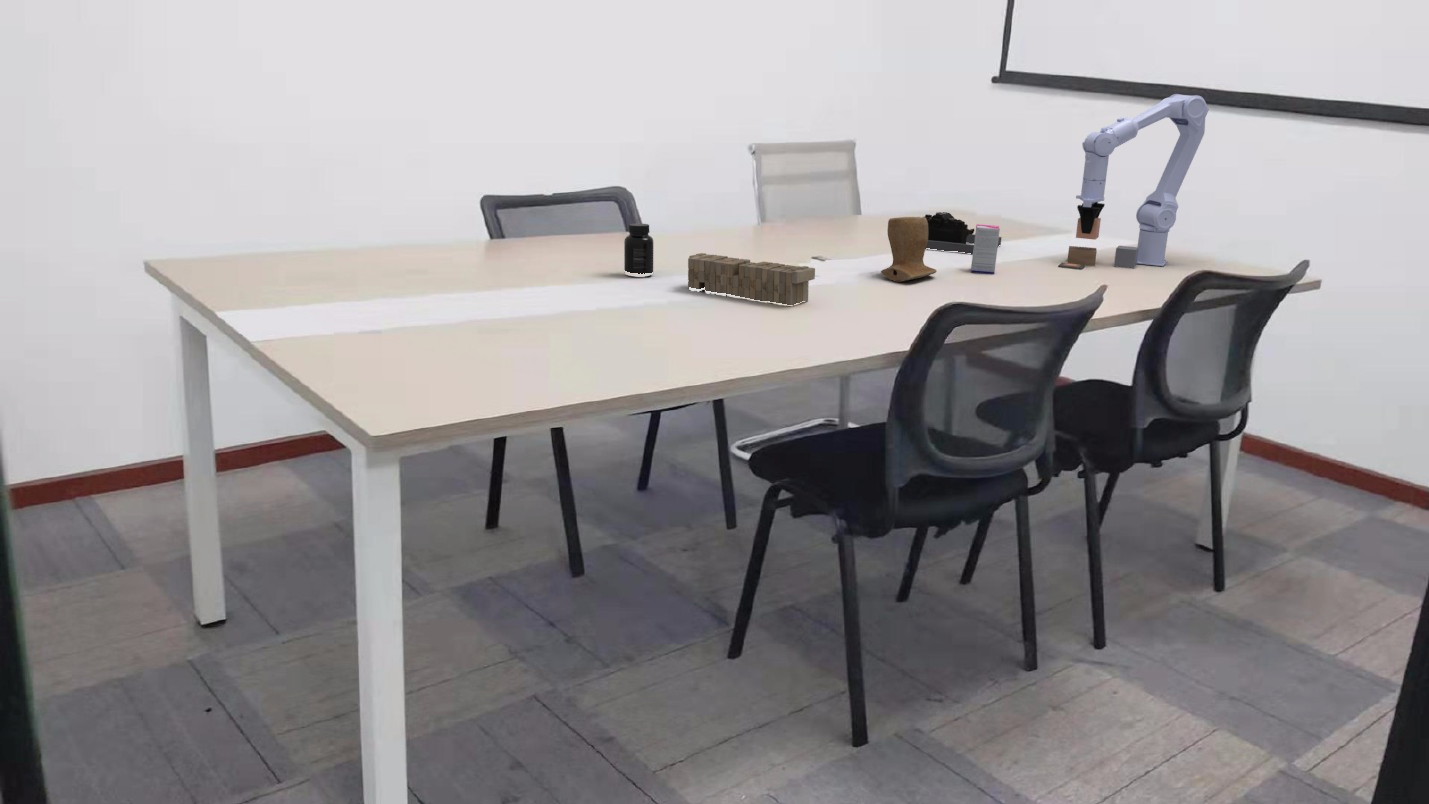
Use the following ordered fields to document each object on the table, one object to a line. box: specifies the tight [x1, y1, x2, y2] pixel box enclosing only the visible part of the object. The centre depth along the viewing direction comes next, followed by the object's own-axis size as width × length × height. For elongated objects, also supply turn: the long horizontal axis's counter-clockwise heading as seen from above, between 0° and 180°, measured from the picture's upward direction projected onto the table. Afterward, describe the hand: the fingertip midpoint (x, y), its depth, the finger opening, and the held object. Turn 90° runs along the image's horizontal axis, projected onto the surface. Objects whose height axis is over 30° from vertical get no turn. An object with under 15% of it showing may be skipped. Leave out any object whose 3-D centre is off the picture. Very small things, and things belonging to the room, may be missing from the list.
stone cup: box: [880, 216, 937, 282], centre depth 281 cm, size 15×12×15 cm
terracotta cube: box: [1075, 217, 1102, 240], centre depth 307 cm, size 5×5×5 cm
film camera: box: [924, 211, 975, 244], centre depth 328 cm, size 18×12×10 cm
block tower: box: [687, 252, 816, 305], centre depth 256 cm, size 8×8×29 cm
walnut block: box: [1066, 245, 1097, 267], centre depth 310 cm, size 7×7×4 cm
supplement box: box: [970, 223, 1000, 275], centre depth 292 cm, size 6×6×12 cm
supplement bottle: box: [623, 222, 654, 274], centre depth 274 cm, size 7×7×12 cm
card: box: [1057, 262, 1086, 270], centre depth 304 cm, size 5×6×1 cm
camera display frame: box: [926, 233, 1002, 255], centre depth 330 cm, size 20×24×2 cm
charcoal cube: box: [1113, 245, 1139, 270], centre depth 307 cm, size 5×5×5 cm
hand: (1087, 232), depth 307 cm, fingers closed on terracotta cube, 5 cm apart
